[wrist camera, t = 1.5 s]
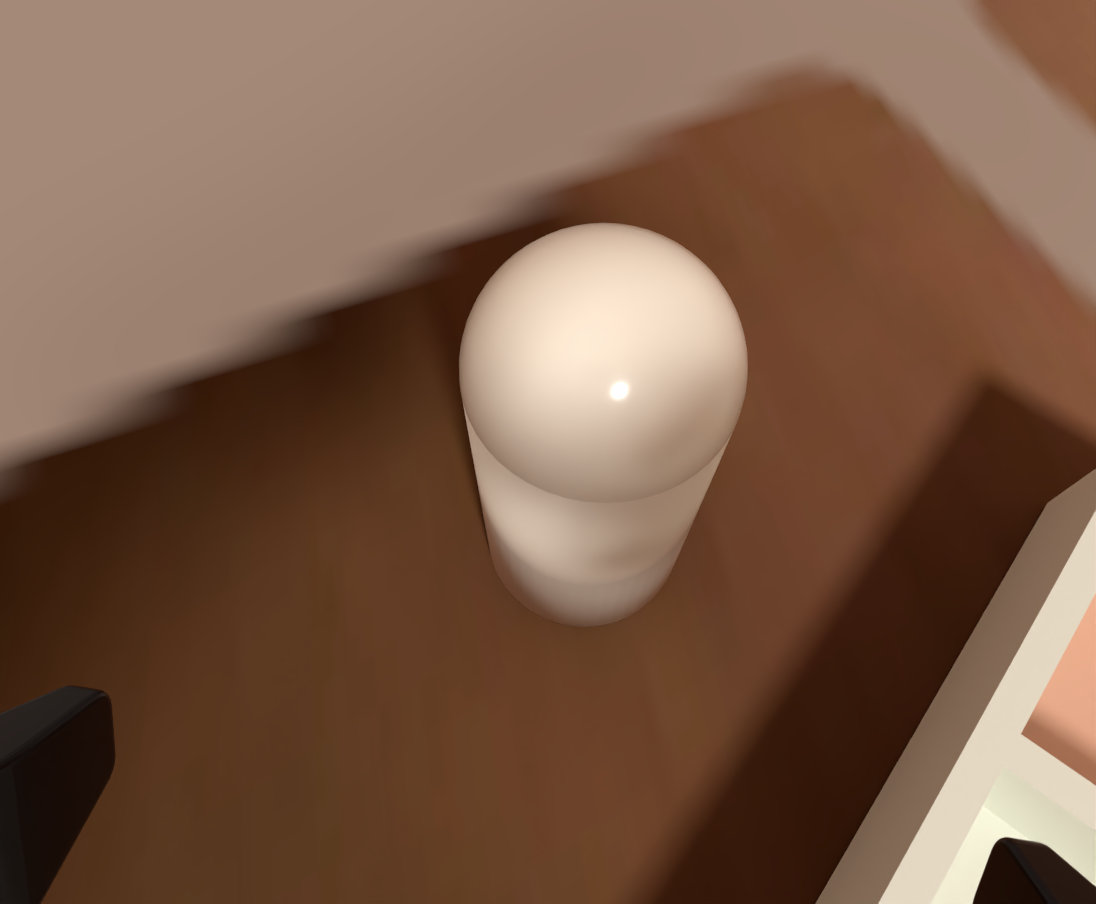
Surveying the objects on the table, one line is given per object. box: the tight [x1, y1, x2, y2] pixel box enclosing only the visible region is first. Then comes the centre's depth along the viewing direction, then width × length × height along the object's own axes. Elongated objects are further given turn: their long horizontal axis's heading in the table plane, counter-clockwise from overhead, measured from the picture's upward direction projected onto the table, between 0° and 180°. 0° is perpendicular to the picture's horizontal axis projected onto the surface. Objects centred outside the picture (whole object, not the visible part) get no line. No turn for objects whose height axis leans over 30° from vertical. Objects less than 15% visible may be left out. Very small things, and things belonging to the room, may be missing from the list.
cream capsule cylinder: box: [459, 223, 748, 627], centre depth 19 cm, size 5×5×12 cm
